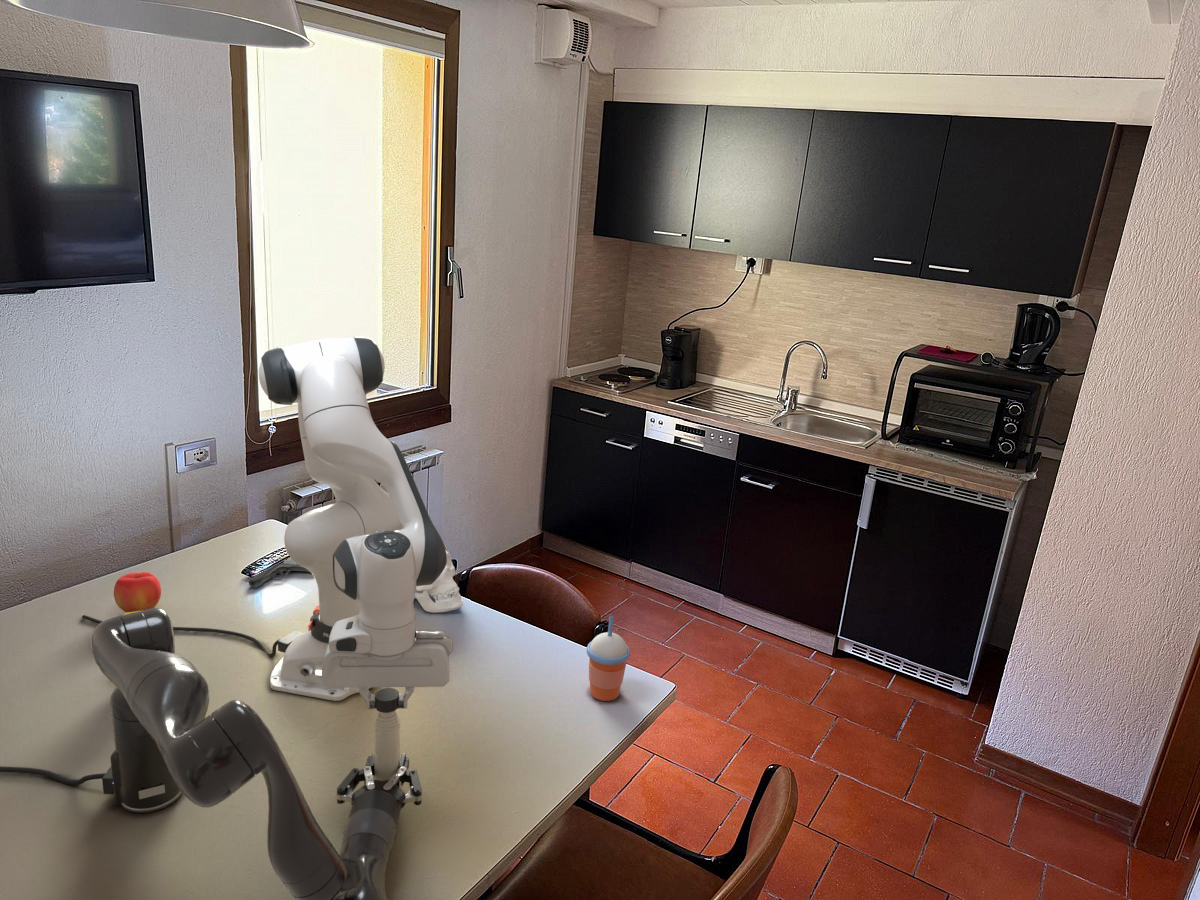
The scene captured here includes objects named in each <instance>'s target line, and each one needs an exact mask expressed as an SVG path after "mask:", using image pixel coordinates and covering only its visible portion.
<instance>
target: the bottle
mask: <svg viewBox="0 0 1200 900" xmlns="http://www.w3.org/2000/svg"><path fill="white" fill-rule="evenodd" d="M400 721H401V720H400V718H399V715H398V712H397V709H396V710H395V711H393V712H390V713H382V712H379V711H377V714H376V717H375V720H374V722H373V753H374V776H373V779H374V780H380V781H385V780H390V778H391V777H392V775H393V774H394V773H395V774H396V772H397V771H398V769H399V763H400V759H401V722H400Z"/></svg>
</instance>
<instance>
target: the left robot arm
mask: <svg viewBox="0 0 1200 900" xmlns="http://www.w3.org/2000/svg"><path fill="white" fill-rule="evenodd" d="M102 621H103V622H101V623H100V624H98V623H97V625H96V626H95V628H94V630H93V632H92V635H91V650H92V654H93V657H94V660H95V662H96V664H97V667H98V668H99V670H100V671H101V673H102V674H103V675H104V676H105V677H106V678H107V679H108V680H109V682H111V684H113V685H114V686H115V687H116V688H114V689H113V691H112V693H111V695H110V700H109V701H110V712H111V718H112V719H111V720H112V729H113V730H112V731H113V739H114V747H115V748H114V751H113V752H112V753H111V755H110V759H109V760H110V767H109V768H108V770H107V771H106V772H103V773H92V774H88V775H84V776H82V777H81V778H79V779H73V778H72V779H71V778H68V777H65V776H63V775H60V774H57V773H55V772H53V771H49V770H47V769H40V768H35V767H23V766H0V772H1V773H16V774H17V773H18V774H31V775H38V776H44V777H47V778H50V779H52V780H54V781H56V782H59V783H62V784H65V785H70V786H80V785H83V784H84V783H85V782H89V781H93V780H102V792H103V795H114V804H115V807H122V808H123V809H124V810H126V811H127V812H130V813H134V814H146V813H153V812H156V811H160V810H162V809H164V808H166V807H168V806H170V805H172V804H173V803H175V802H176V801H177V800H178V799H179V798H180V797H181V796H182V794H183V795H184V797H186V799H188V800H189V801H190V802H191V803H193V804H194V805H196V806H198V807H201V808H206V809H207V808H212V807H214V806H217V805H219V804H220V803H222V802H224V801H226V800H227V799H228V798H229V797H231V796H232V795H233V794H235V793H236V792H237V791H238V790H240V789H241V788H242V787H243V786H245V785H246V784H247V783H249V782H250V781H252V779H254V778H255V777H256V776H257V775H259V774H260V773H261V775H262V777H263V779H264V782H265V786H266V791H267V803H268V804H267V805H268V814H267V830H266V831H267V833H266V836H267V837H266V843H267V845H266V847H267V854H268V859H269V862H270V864H271V866H272V869H273V871H274V872H275V874H276V876H277V877H278V878H279V880H280V881H281V882H282V884H283V885H284V886H285V888H286V889H287V891H288V892H289V893H290V894H291V895H292V897H293V898H294V900H388V897H387V889H386V870H387V866H388V861H389V857H390V853H391V851H392V849H393V846H394V843H395V841H396V840H395V839H396V836H397V835H396V833H397V828H398V824H399V820H400V814H401V810H402V809H403V808H404V807H405V805H406V804H409V803H413V805H415V806H420V805H422V803H423V802H422V801H423V800H422V798H423V789H422V785H421V782H420V778H419V774H418V771H417V769H414V768H413V769H410V770H409V768H410V757H409V756H407V753H401V754H400V763H399V769H398V771H397V772H396V774H395V773H394V774H393V775H392V777H391V778H390V780H385V781H380V780H374V752H372V754H371V755H369V756H368V757H367V759H366V762H365V765H364V766H363V768H361V769H360V768H358V767H354V768H352V769H351V770H350V771H349V772H348V774H347V775H346V777H345V778H344V779H343V780H342V781H341V783H340V784H339V785H338V786H337V788H336V803H337V804H338V805H342V804H345V802H348V803H350V804H351V808H350V811H349V815H348V818H347V820H346V821H347V822H346V824H345V828H344V832H343V836H342V841H341V848H340V850H339V852H338V851H337V850H336V848H335V846H334V845H333V843H332V842H331V840H330V839H329V838H328V836H327V834H325V832H324V831H323V829H322V828H321V826H320V824H319V822H317V820H316V818H315V815H314V814H313V812H312V810H311V808H310V806H309V804H308V802H307V800H306V797H305V795H304V793H303V791H302V789H301V787H300V785H299V783H298V781H297V778H296V777H295V775H294V773H293V771H292V769H291V767H290V765H289V763H288V762H287V759H286V757H285V756H284V753H283V752H282V750H281V748H280V746H279V744H278V743H277V741H276V738H275V737H274V735H273V733H272V732H271V730H270V728H269V727H268V725H266V723H265V722H264V720H263V719H262V718H261V717H260V715H259V714H258V713H257V712H256V711H255V709H253V708H252V707H251V706H250V705H249V704H247V703H246V702H245V701H243V700H240V699H231V700H230V701H228V702H226V703H225V704H223V705H221V706H220V707H218V708H217V709H216V710H214V711H213V712H212V713H210V714H209V715H207V714H208V709H209V704H210V689H209V684H208V682H207V680H206V678H205V677H204V676H203V675H202V673H201V672H200V671H199V669H197V667H196V666H195V665H194V664H193V663H192V662H191V661H190V660H188V659H187V658H185V657H184V656H182V655H180V654H177V653H175V650H176V649H175V648H176V647H175V646H176V645H175V633H174V630H173V627H174V625H173V622H172V620H171V617H170V616H169V614H168V612H167V611H166V610H164V609H163V608H161V607H154V608H152V609H147V610H143V611H139V612H134V613H130V614H126V615H124V614H122V615H118V616H112V617H110V618H107V619H105V620H102ZM206 715H207V716H206ZM361 782H363V786H361V787H360V788H358V789H357V790H355V789H356V788H357V787H358V785H359V784H360V783H361ZM406 783H408V785H409V789H408V791H407V793H404V791H403V790H402V789H403V787H404V785H405V784H406Z"/></svg>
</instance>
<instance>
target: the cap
mask: <svg viewBox="0 0 1200 900" xmlns="http://www.w3.org/2000/svg"><path fill="white" fill-rule="evenodd" d="M399 694H400V692H399V690H398V689H396V688H395V687H382V688H380V689H379V690H377V691H376V692H375V693H374V695H375V708H376V709H375V710H376V711H377V712H378V711H379V712H382V713H390V712H393V711H395V710H396V711H397V710H399V709H398V699H399Z"/></svg>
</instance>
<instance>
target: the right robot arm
mask: <svg viewBox="0 0 1200 900" xmlns="http://www.w3.org/2000/svg"><path fill="white" fill-rule="evenodd" d="M260 359H261V361H260V363H259V366H258V380H259V385H260V387H261V389H262V391H263V393H264V394H265V395H266V396H267V398H268V400H269V401H271V402H272V403H274V404H276V405H282V406H283V405H284V406H293V404H297V416H298V417H297V419H298V429H299V434H300V439H301V446H302V452H303V457H304V462H305V463H304V464H305V468H306V472H307V474H308V475H309V477H310V478H311V479H312V480H313V481H315V482H316V483H318V484H321V485H325V486H327V487H329V488H330V489H331V491H332V492H333V495H334V499H335V502H334V503H330V504H328V505H324V506H321V507H318V508H317V507H316V508H314V509H311V510H309V511H307V512H305V513H303V514H301V515H299V516H298V517H296V518H294V519H293V520H291V521H290V522H289V523H288V524H287V526H286V528H285V530H284V537H283V541H284V543H283V544H284V547H285V550H286V553H287V555H289V556H290V558H291V559H292V560H293V561H294V562H295V563H297V564H298V565H300V566H302V567H304V568H306V569H308V570H309V571H310V572H309V573H311V574H312V576H313V578H314V579H315V582H316V587H317V593H318V605H316V607H314V610H313V611H312V615H311V617H310V619H309V623H308V625H307V628H308V629H307V630H306V631H304V632H302V631H300V630H296V629H295V630H294V631H291V632H290V633H289V634H287V635H286V636H283V637H282V638H280V639H277V640H276V641H274V643H273V644H272V648H271V649H272V650H271V653H269V652H268V651H267V649H266V648H265V647H264V645H263V644H262V643H261V642H260V641H259V640H258V639H256V638H254V637H253V636H251V635H248V634H245V633H240V632H236V631H232V630H227V629H226V630H225V629H218V628H208V627H188V626H187V627H185V626H173V631H178V632H179V631H180V632H181V631H182V632H207V633H208V632H209V633H215V634H223V635H229V636H235V637H239V638H243V639H246V640H248V641H251V642H252V643H254V644H255V645H256V646H257V647H258V648H259V649H260V650H261V651H263V652H264V653H265V654H266V655H267V656H268V657H269V658H273V657H274V656H275V655H276V654H277V651H278V652H281V653H284V654H283V656H282V657H281V659H280V660H279V661H278V662H277V663H276V664H275V666H274V667H273V669H272V670H271V673H270V676H269V686H270V688H271V689H272V690H274V691H278V692H283V693H289V694H295V695H300V696H304V697H305V696H306V697H310V698H315V699H316V698H317V699H322V700H327V701H334V702H339V701H340V702H341V701H342V700H344V699H346V698H348V697H350V696H351V695H355V694H359V695H360V696H361V697H362V699H363V700H364V701H365V709H366V710H376V708H375V694H372V693H371V691H370V690H369V689H371V688H405V690H404V691H405V692H404V693H399V699H398V709H397V710H399V709H401V710H402V709H404V710H406V709H408V705H409V699H410V698H411V697H412V695H413V694H414V693H415V688H443V687H446V686H447V685H448V684H449V683H450V680H451V660H450V656H451V655H452V653H453V652H454V641H453V637H452V636H450V635H449V634H446V633H445V632H444V631H417V629H416V628H417V626H416V624H417V622H416V621H417V611H416V607H415V603H414V601H415V598H414V596H415V593H416V586H423V585H431V584H432V583H433V582H435V581H436V579H437V578H438V577H439V576H440V575H441V573H442V572H443V570H444V568H445V566H446V563H447V555H446V551H447V550H446V546H445V544H444V540H443V539H442V537H441V535H440V533H439V531H438V530H437V528H436V526H435V525H434V523H433V521H432V520H431V517H430V514H429V513H428V510H427V507H426V506H425V503H424V500H423V499H422V496H421V494H420V491H419V489H418V487H417V483H416V480H415V479H414V477H413V473H412V472H411V470H410V467H409V466H408V463H407V460H406V459H405V456H404V455H403V452H402V451H401V449H400V448H399V446H398V445H397V443H396V442H395V441H393V440H391V439H389V438H387V437H386V436H384V435H383V433H382V432H381V431H380V430H379V428H378V426H377V425H376V423H375V421H374V419H373V417H372V414H371V410H370V406H369V402H368V399H367V394H370V393H371V392H373V391H375V390H377V389H378V388H379V387H380V385H381V384H382V383H383V381H384V375H385V368H386V366H385V365H386V364H385V360H384V356H383V354H382V352H381V349H380V348H379V346H378V344H377V342H376V341H374V340H373V338H370V337H365V336H353V337H352V338H349V337H348V338H347V337H346V338H345V337H344V338H343V337H342V338H325V339H318V340H315V341H308V342H303V343H298V344H293V345H289V346H286V347H282V346H277V347H274V348H272V349H269V350H267V351H265V352H264V354H263V355H262V356H261V358H260ZM377 482H378V483H380V484H381V485H382V486H383V487H384V488H385V489H386V491H385V490H384V489H383V488H382V487H381V486H380V485H379V484H378V483H377ZM81 618H82V619H84V620H87V621H89V622H92V623H95V624H97V625H98V624H100V623H101V622H103V621H104V620H100V619H97V618H94V617H92V616H89V615H85V614H83V615H82V616H81Z"/></svg>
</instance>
